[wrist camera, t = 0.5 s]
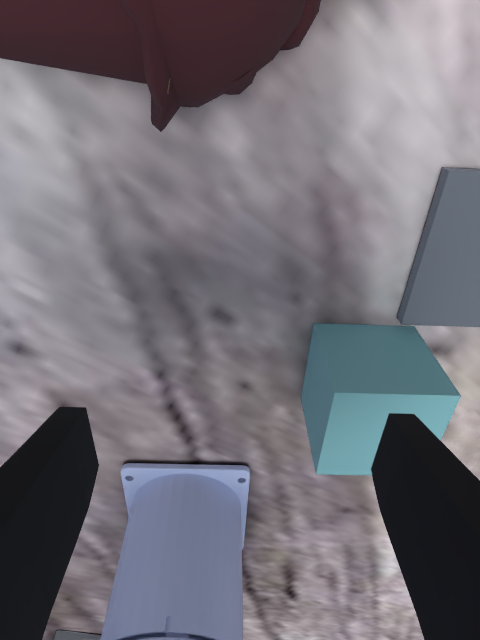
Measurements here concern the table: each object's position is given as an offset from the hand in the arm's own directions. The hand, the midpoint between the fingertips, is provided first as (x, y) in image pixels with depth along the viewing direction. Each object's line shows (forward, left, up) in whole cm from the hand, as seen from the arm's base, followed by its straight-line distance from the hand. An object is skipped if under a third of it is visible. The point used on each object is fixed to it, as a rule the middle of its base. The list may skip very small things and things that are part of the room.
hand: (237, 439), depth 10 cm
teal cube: (-5, -6, -10) cm, 13 cm away
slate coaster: (+1, -11, -10) cm, 15 cm away
